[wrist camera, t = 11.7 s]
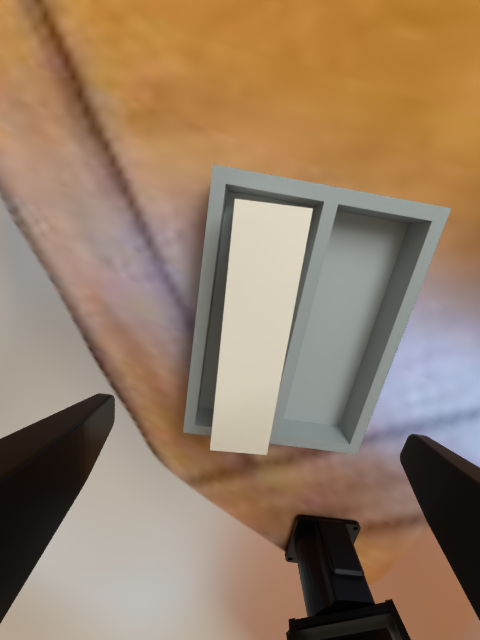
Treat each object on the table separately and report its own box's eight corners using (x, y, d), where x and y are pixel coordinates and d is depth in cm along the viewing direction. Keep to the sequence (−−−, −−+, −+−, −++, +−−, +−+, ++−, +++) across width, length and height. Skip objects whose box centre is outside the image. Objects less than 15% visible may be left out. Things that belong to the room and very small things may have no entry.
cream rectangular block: (260, 404, 20) (266, 455, 15) (216, 399, 20) (209, 450, 15) (290, 218, 16) (313, 208, 11) (235, 211, 16) (234, 198, 11)
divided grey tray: (341, 426, 22) (356, 454, 19) (190, 406, 21) (182, 432, 18) (414, 213, 17) (451, 208, 14) (217, 178, 16) (212, 164, 13)
